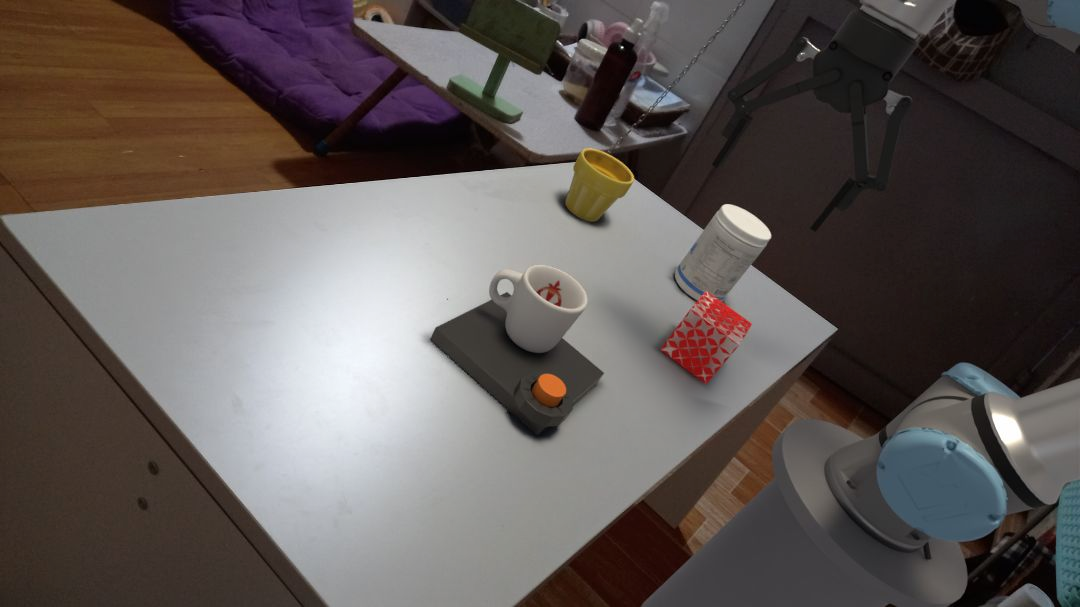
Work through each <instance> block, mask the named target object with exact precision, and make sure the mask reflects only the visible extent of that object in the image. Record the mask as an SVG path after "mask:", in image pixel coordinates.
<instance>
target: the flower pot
mask: <svg viewBox="0 0 1080 607" xmlns="http://www.w3.org/2000/svg"><path fill="white" fill-rule="evenodd" d="M576 158H577V159H576V160H575V162H574V165H573V166H572V167H573V176H572V179H571V183H570V186H569V189H568V193H567V195H566V199H565V206H566V208H567V210H569V212H570V213H572V214H573V215H574V216H576V217H577V218H579V219H581V220H583V221H586V222H592V223H594V222H597V221H599V219H600V218H601V217H602V216H603V215H604V214H605V213H606V212H607V211H608V210H609V209H610V207H611V206H613V204H614V203H615V202H616V201H617V200H618V199H622V198H623V197H625V196H626V195H627V193H628V191H629V190H630V189H631V187H632V185H633V183H634V181H635V175H634V174H633V172H632V171H631V169H629V167H628V166H626V165H625V164H624V162H622V161H620V160H619V159H618V158H616V157H614V156H613V155H611V154H609V153H607V152H605V151H602V150H600V149H597V148H590V147H587V148H584V149H582V150H581V151H580V153H579V154H578V157H576Z"/></svg>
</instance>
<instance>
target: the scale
mask: <svg viewBox="0 0 1080 607" xmlns="http://www.w3.org/2000/svg"><path fill="white" fill-rule="evenodd" d="M499 295H500V296H502V297H510V296H511V295H512V294H510V293H509V292H508V291H506V292H505V293H502V294H499ZM506 317H507V312H506V310H505V309H504V308H502V307H500V306H499V305H497V304H496V303H494V302H493V301H492V299H490V300H488V301H486V302H484V303H482V304H480V305H478V306H476V307H474V308H472V309H470V310H468V311H465V312H464V313H462V314H460V315H458V316H455V317H453V318H451V319H449V320H448V321H446V322H444V323H441V324H440V325H437V326H435V328H434V330H433V332H432V334H431V336H430V338H429V339H430V341H431V342H432V343H433V344H434V345H436V346H437V347H438V348H439V350H441V351H442V352H443V353H445V354H446V355H447V356H448V357H449V358H450V359H451V360H452V361H454V362H455V363H456V364H457V365H458V366H459V367H460V368H461V369H463V371H464V372H466V373H467V374H468V375H469V376H470V377H471V378H473V380H475V381H476V382H477V383H478V385H480V386H481V387H483V388H484V389H485V390H486V391H487V392H488V393H489V394H490V395H492V396H493V397H494V398H495V399H496V400H497V401H498V402H499V403H500V404H501V405H502V406H503V407H505V408H506V409H507V410H508V411H509V412H510V413H512V414H513V415H514V416H515V417H516V418H517V419H518V420H519V421H520V422H521V423H522V424H523V425H525V426H526V427H527V428H528V429H529V430H530V431H531V432H533V433H534V434H535V435H536V436H539V435H540V434H542V433H543V431H544V430H546V429H547V428H548V427H558V426H560V425H561V424H562V423H564V422H565V421H566V420H567V418H568V417H569V416H570V414H571V413H572V411H573V405H574V404H575V403H577V402H578V401H579V400H580V399H581V398H582V397H583V396H585V395H586V394H587V393H588V392H589V391H590V390H592V389H593V388H594V387H595V386H596V385H597V384H598V383H599V382H600V380H601V379H602V378H603V376H604V374H605V372H604V371H603V370H602V369H601V368H599V367H598V366H597V365H596V364H594V363H593V362H592V361H591V360H589V358H588V357H586V356H585V355H584V354H582V353H581V352H580V351H579V350H577V349H576V348H575V347H574V346H573V345H571V344H570V343H569V342H568V341H567V340H565V339H564V337H562V339H561V340H560V341H559V342H558V343H557V345H556V346H555V347H553V348H552V349H551V350H549V351H547V352H544V353H534V352H530V351H527V350H525V349H523V348H521V347H519V346H518V345H517V344H515V343H514V342H513V341H512V340H511V338H510V337H509V335H508V334H507V331H506V326H505V323H506ZM543 374H552V375H554V376H556V377H558V378H559V379H560V380H561V381H562V382H563V383H564V384H565V387H566V394H565V395H564V397H563V398H562V400H561V401H560V403H559V404H558V405H557V406H556V407H552V408H551V407H546V406H544V405H541V404H540V403H539V402H538V401H537V400H536V399H535V398H534V397H533V395H532V388H533V386H534V385H535V383H536V382H537V380H538V378H539V377H540V376H541V375H543Z"/></svg>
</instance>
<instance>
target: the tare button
mask: <svg viewBox="0 0 1080 607" xmlns="http://www.w3.org/2000/svg"><path fill="white" fill-rule="evenodd" d="M565 394H566V387H565V384H564V383H563V382H562V381H561V380H560V379H559V378H558V377H556V376H554V375H552V374H543V375H541V376H540V377H539V378H538V380H537V382H536V383H535V385H534V386H533V388H532V395H533V397H534V398H535V399H536V400H537V401H538V402H539V403H540V404H541V405H544V406H546V407H551V408H552V407H556V406H557V405H558V404H559V403H560V401H561V400H562V398H563V397H564V395H565Z"/></svg>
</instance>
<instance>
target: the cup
mask: <svg viewBox="0 0 1080 607" xmlns="http://www.w3.org/2000/svg"><path fill="white" fill-rule="evenodd" d="M502 280H508V281H509V282H510V283H511V284H512V286H513V292H512V294H510V295H511V296H510V297H502V296H500V295H501V294H500V293H499V291H498V285H499V283H500V282H501V281H502ZM488 294H489V295H488V296H489V298H490V300H492V301H493V302H494V303H496V304H497V305H499V306H500V307H502V308H504V309H505V310H506V312H507V317H506V323H505V326H506V331H507V334H508V335H509V337H510V338H511V340H512V341H513V342H514V343H515V344H517V345H518V346H519V347H521V348H523V349H525V350H527V351H530V352H534V353H544V352H547V351H549V350H551V349H552V348H553V347H555V346H556V345H557V343H558V342H559V341H560V340H561V339H562V338H564V336H565V335H566V334H567V332H568V331H569V330H570V329H571V327H572V326H573V325H574V324H575V323H576V321H577V320H578V319H579V318H580V317H581V315H582V314H583V313H584V311H585V310H586V308H587V306H588V294H587V292H586V291H585V289H584V287H583V286H582V285H581V283H579V282H578V281H577V279H576V278H574V277H573V276H571V275H570V274H568V273H567V272H565V271H563V270H561V269H559V268H557V267H554V266H550V265H546V264H534V265H531V266H528V267H527V268H526V269H525V270H524V272H523V273H521V272H519V271H515V270H513V269H507V268H504V269H500V270H499V271H498V272H496V273H495V275H494V276H493V278H492V279H491V281H490V284H489V287H488Z"/></svg>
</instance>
